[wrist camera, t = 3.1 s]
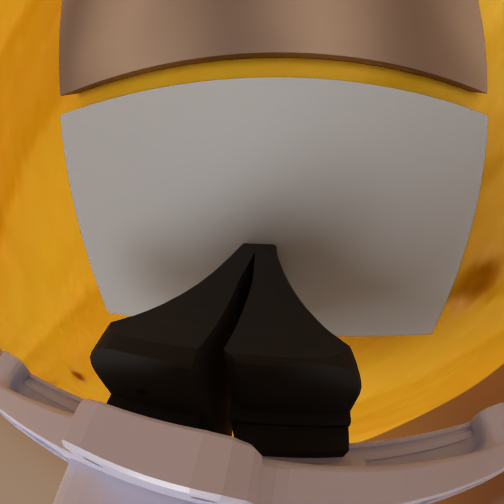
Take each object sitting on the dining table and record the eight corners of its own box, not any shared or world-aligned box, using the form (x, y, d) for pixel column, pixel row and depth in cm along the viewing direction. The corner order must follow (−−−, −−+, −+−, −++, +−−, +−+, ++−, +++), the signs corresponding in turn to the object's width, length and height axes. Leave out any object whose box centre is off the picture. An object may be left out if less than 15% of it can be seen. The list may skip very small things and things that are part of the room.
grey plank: (472, 113, 8) (488, 115, 7) (424, 319, 13) (431, 333, 12) (76, 112, 10) (60, 115, 9) (117, 299, 15) (107, 312, 14)
